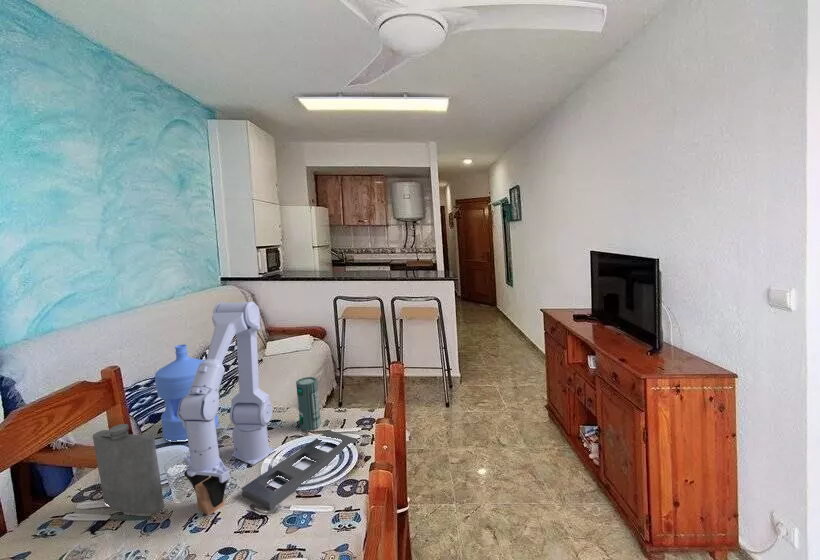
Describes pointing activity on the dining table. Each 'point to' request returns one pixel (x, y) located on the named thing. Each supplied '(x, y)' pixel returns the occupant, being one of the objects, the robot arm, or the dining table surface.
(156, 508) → the hip flask
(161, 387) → the water jug
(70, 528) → the dining table surface
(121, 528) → the dining table surface
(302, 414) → the can
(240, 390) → the robot arm
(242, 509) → the dining table surface
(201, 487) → the square block
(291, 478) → the grey flat perforated plate
